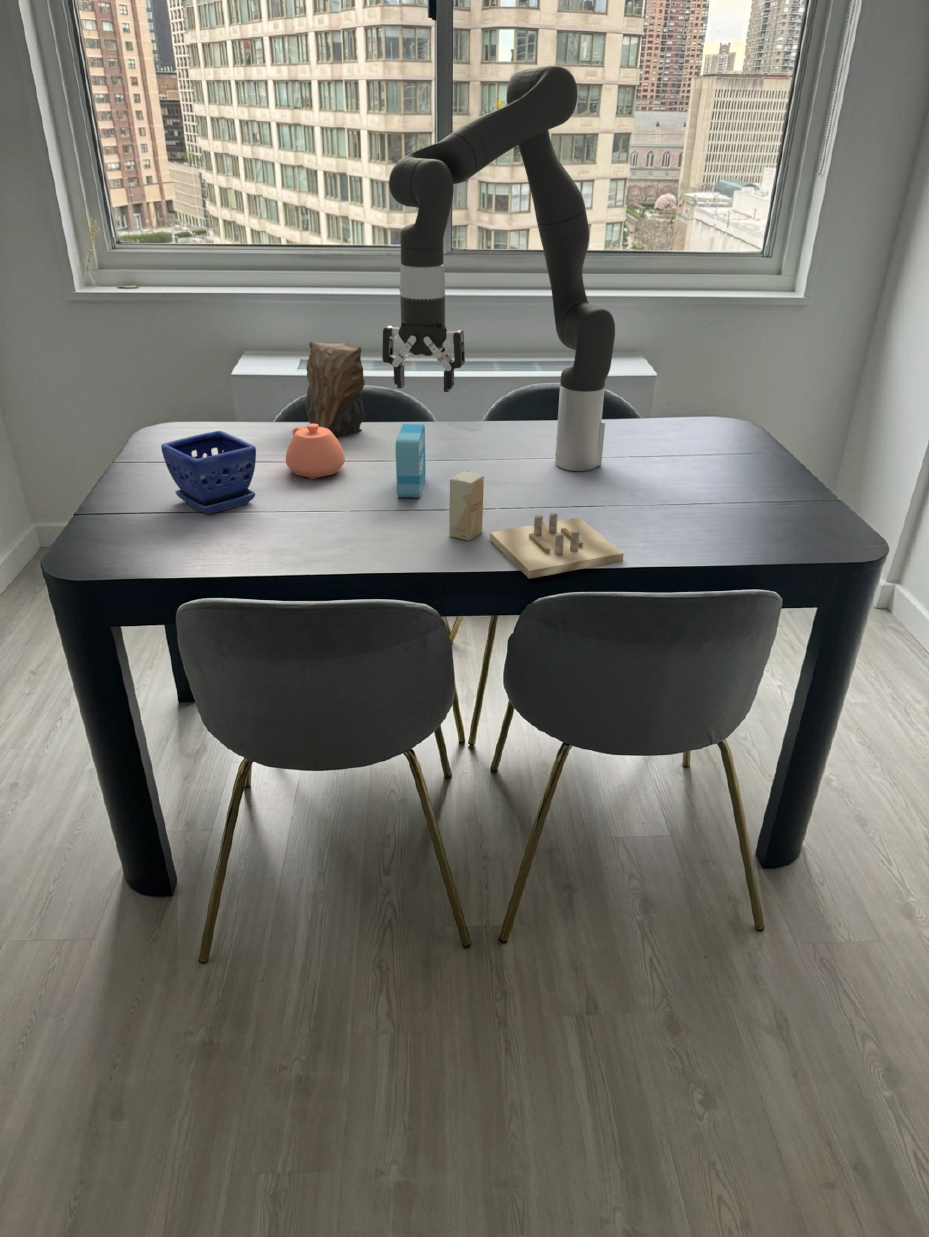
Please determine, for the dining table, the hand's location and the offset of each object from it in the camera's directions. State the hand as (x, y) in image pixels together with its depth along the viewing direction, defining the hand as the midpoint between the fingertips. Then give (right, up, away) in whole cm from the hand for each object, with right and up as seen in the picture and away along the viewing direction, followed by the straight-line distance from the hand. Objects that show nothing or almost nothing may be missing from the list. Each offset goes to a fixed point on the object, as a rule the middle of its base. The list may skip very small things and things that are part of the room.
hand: (423, 389), depth 155 cm
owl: (-24, +4, +53) cm, 59 cm away
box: (+7, -25, +5) cm, 27 cm away
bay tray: (+23, -28, 0) cm, 37 cm away
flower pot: (-41, -18, +17) cm, 48 cm away
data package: (-4, -14, +24) cm, 28 cm away
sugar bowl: (-25, -9, +32) cm, 41 cm away
